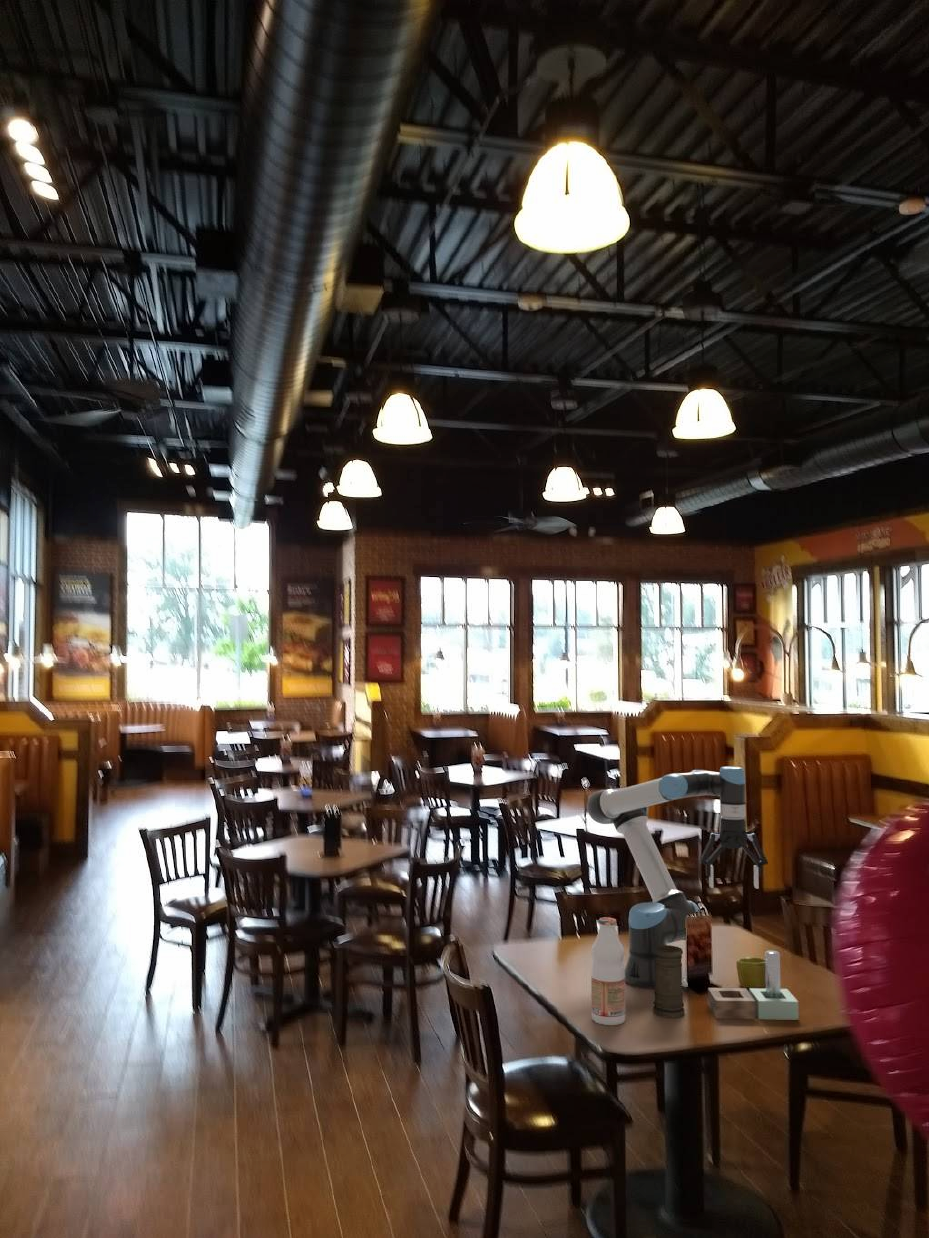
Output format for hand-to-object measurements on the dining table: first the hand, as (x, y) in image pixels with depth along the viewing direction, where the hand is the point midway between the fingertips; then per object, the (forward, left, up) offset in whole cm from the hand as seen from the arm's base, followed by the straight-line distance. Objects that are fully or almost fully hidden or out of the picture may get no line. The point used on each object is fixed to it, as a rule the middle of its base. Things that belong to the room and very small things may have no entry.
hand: (733, 887), depth 300 cm
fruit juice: (-41, -25, -32) cm, 58 cm away
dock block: (+7, -17, -32) cm, 37 cm away
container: (-23, -18, -32) cm, 43 cm away
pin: (+7, -17, -32) cm, 37 cm away
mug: (+7, +8, -32) cm, 34 cm away
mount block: (-5, -17, -32) cm, 36 cm away
